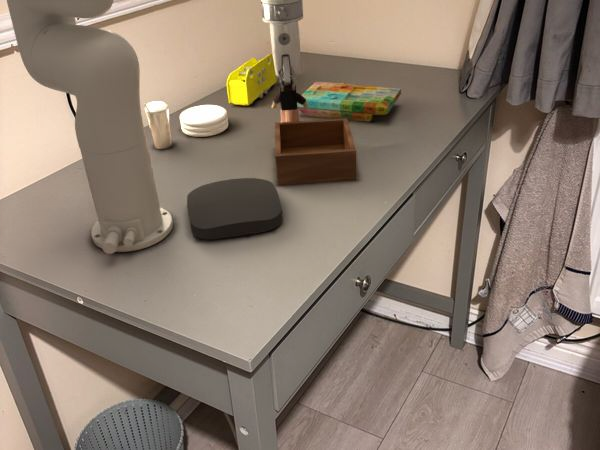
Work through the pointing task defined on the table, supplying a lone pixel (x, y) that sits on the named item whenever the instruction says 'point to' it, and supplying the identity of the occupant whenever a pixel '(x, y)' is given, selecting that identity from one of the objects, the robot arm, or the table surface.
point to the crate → (314, 151)
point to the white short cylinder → (204, 120)
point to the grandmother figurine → (290, 114)
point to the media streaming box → (234, 208)
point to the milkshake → (159, 123)
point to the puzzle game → (348, 101)
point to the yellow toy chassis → (251, 80)
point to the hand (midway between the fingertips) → (288, 105)
